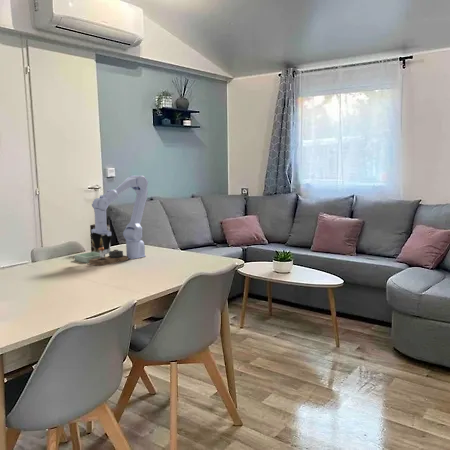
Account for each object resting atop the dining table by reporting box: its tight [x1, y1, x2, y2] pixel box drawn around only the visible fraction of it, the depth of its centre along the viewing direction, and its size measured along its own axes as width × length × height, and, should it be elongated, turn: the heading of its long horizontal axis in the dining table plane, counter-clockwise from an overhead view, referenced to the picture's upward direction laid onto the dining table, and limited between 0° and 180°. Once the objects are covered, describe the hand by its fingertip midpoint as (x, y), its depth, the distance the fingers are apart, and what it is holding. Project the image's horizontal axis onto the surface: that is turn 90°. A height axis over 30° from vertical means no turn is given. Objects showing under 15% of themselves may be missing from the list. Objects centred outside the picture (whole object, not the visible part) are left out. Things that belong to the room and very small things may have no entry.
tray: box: [74, 251, 100, 264], centre depth 246 cm, size 11×11×3 cm
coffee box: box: [89, 223, 111, 255], centre depth 264 cm, size 9×6×16 cm
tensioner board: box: [88, 249, 129, 267], centre depth 242 cm, size 18×8×6 cm, turn 139°
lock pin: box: [99, 247, 106, 260], centre depth 239 cm, size 3×3×8 cm
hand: (101, 248), depth 238 cm, fingers open, 7 cm apart
